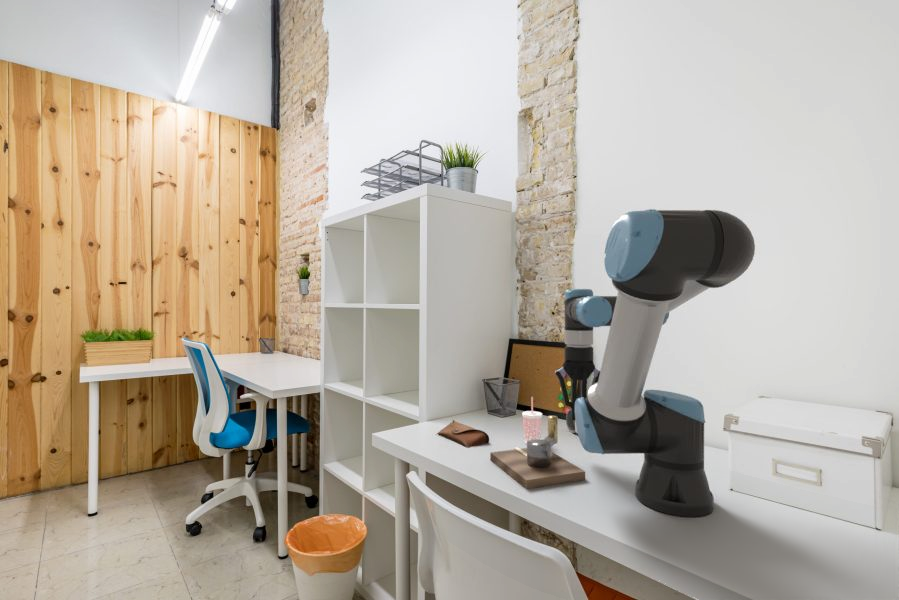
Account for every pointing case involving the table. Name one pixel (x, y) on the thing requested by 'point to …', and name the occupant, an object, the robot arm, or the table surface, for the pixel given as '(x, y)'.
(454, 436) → the sunglasses case
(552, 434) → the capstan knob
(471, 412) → the table surface
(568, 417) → the ceramic mug
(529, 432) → the beverage cup
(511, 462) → the walnut stand plate
